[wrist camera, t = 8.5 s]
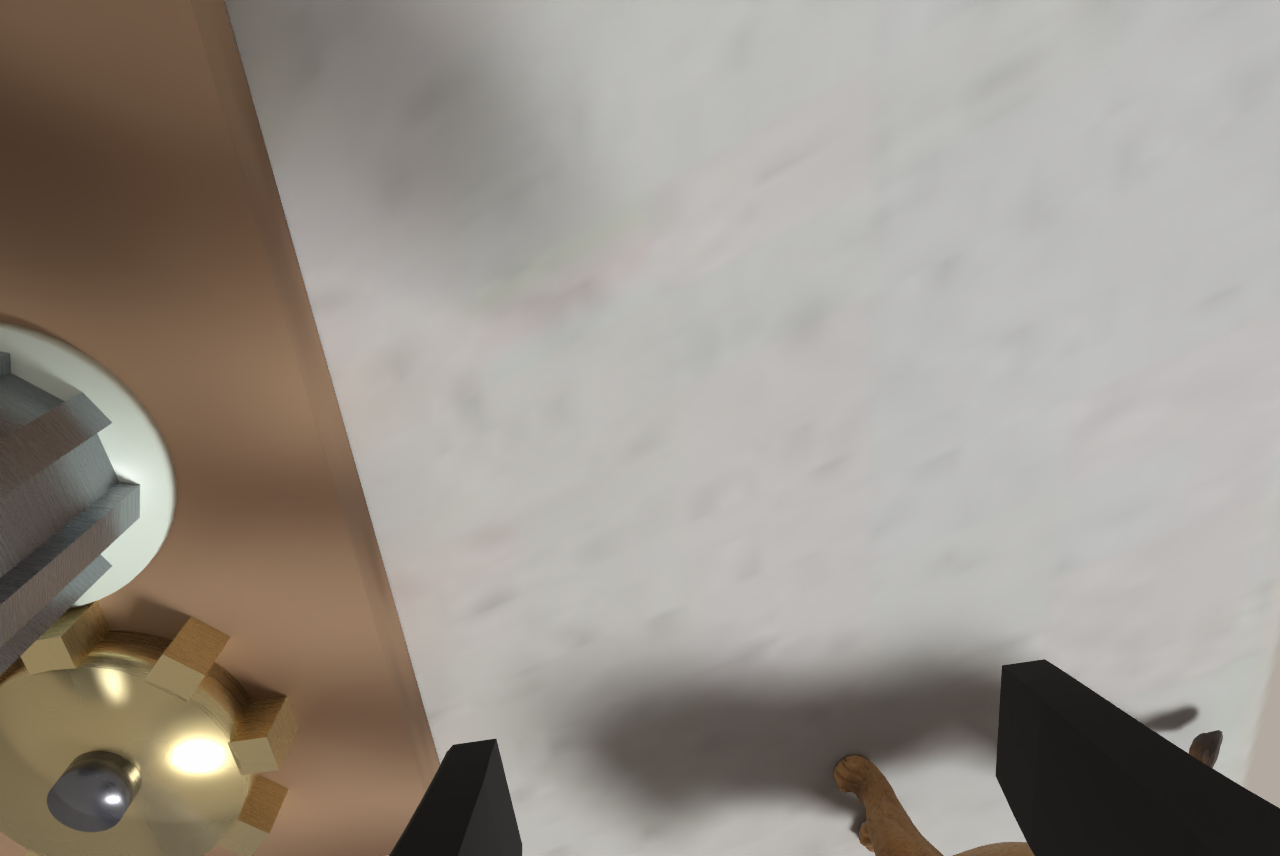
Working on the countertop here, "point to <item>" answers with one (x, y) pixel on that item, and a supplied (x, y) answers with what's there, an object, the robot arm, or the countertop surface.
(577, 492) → the countertop surface
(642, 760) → the countertop surface
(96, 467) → the grey gear
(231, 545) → the gear board
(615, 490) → the countertop surface
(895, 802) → the lion figurine
